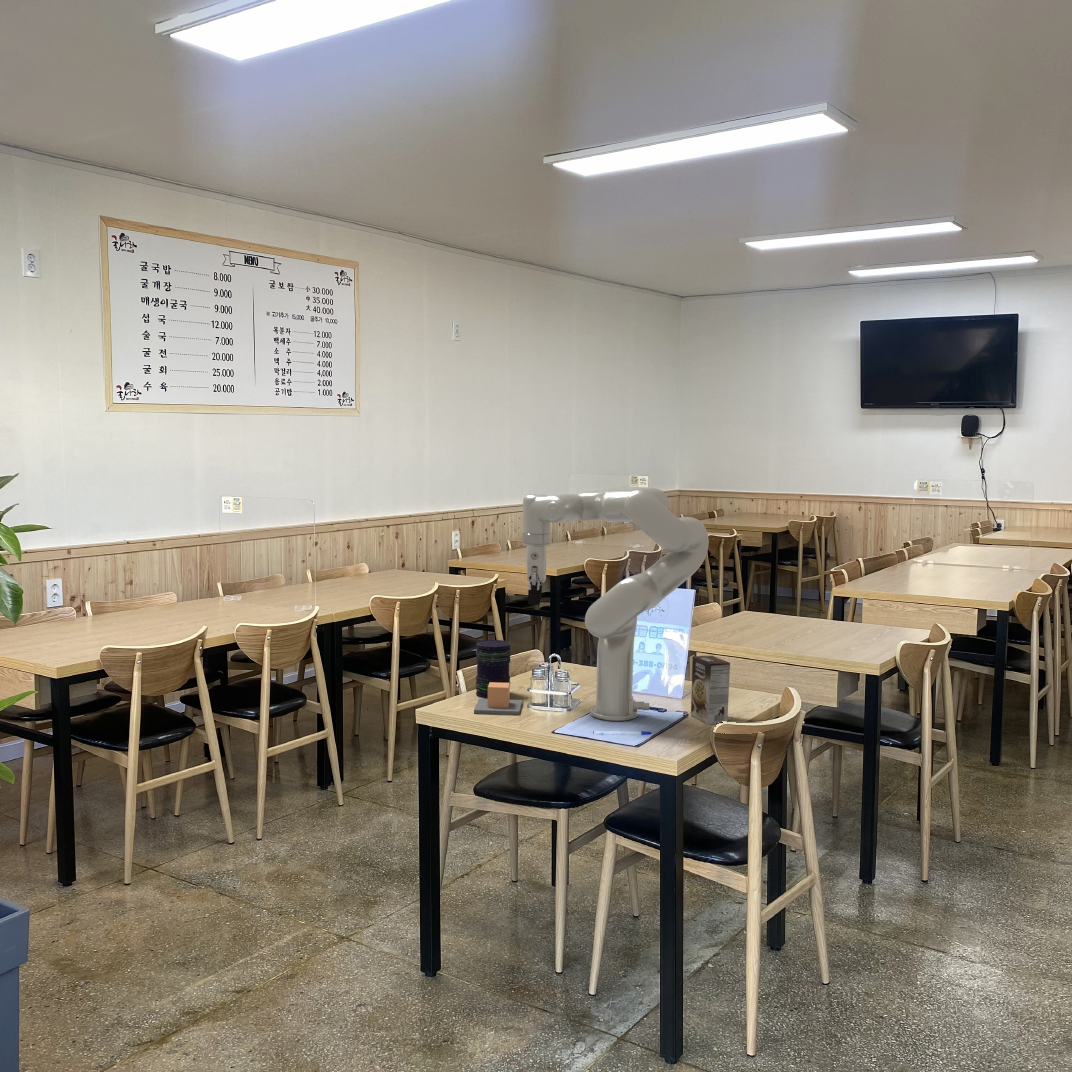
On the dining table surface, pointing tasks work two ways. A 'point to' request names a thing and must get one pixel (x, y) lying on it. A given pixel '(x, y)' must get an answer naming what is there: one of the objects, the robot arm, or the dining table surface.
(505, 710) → the coaster mat
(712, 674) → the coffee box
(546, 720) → the dining table surface
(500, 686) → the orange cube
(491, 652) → the storage jar
